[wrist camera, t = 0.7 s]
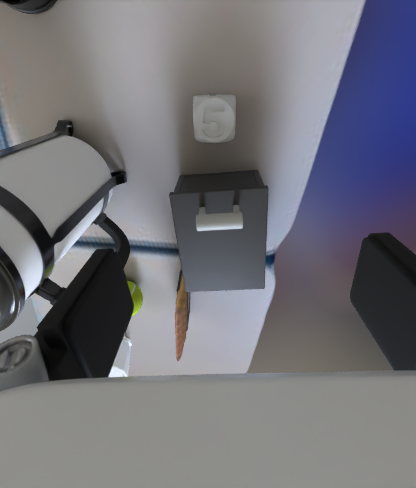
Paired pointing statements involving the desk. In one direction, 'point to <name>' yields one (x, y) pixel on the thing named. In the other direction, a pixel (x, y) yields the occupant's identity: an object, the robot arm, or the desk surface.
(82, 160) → the coffee press
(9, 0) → the french press
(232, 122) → the die
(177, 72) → the desk surface
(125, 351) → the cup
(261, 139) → the desk surface
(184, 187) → the hinged black storage box
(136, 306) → the tennis ball
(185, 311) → the ammunition clip
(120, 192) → the desk surface
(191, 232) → the lid
